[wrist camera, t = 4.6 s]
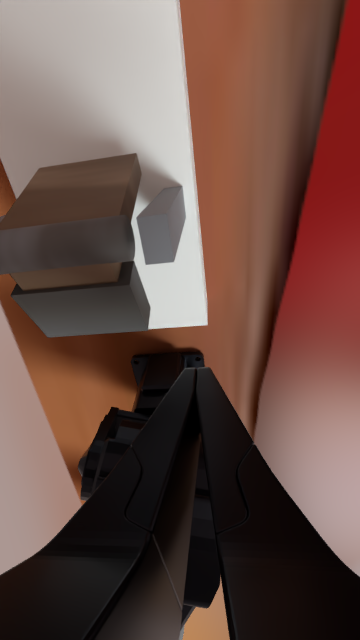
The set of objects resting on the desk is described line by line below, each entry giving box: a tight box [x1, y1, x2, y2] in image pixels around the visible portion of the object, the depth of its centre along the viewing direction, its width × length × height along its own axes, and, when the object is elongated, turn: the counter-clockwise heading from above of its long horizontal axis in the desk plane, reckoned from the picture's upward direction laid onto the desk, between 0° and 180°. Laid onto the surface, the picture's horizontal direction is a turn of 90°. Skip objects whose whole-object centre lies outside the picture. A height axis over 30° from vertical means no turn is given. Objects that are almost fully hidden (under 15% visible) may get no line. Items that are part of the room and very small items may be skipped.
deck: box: [0, 0, 207, 329], centre depth 14 cm, size 17×10×11 cm, turn 8°
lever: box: [0, 153, 151, 337], centre depth 14 cm, size 5×6×7 cm
